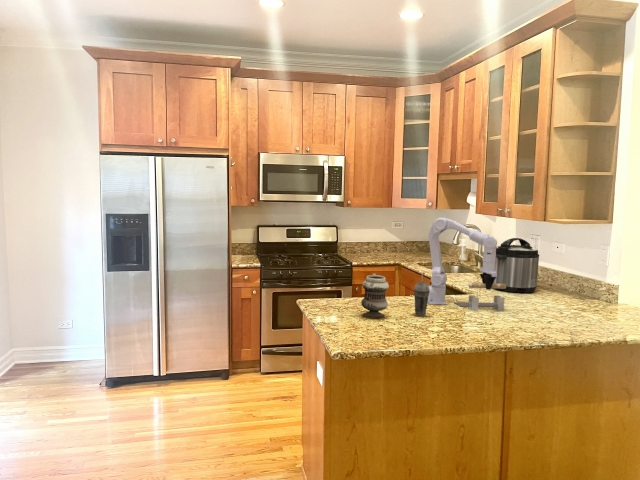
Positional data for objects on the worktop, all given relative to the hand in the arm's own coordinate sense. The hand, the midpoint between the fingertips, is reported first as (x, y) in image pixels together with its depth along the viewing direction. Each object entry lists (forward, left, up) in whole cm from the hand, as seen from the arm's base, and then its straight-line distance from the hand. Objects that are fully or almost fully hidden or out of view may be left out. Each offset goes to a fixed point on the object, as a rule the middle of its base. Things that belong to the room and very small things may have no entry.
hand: (487, 288), depth 229 cm
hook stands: (0, 0, -10) cm, 10 cm away
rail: (0, 0, +2) cm, 2 cm away
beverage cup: (-37, -13, -11) cm, 41 cm away
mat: (0, +9, -10) cm, 14 cm away
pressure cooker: (+40, +53, -11) cm, 67 cm away
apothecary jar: (-59, -15, -11) cm, 62 cm away
